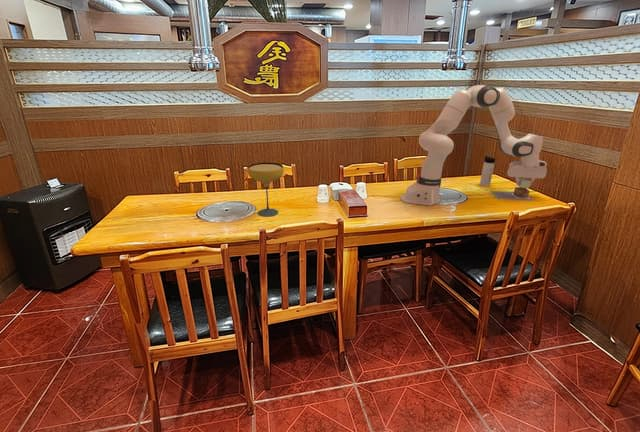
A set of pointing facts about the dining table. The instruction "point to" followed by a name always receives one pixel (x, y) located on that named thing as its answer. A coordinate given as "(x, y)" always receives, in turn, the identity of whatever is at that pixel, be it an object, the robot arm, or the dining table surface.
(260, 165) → the cocktail glass
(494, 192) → the build board
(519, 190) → the walnut block
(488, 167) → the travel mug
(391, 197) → the dining table surface
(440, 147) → the robot arm
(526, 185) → the sage block
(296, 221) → the dining table surface
